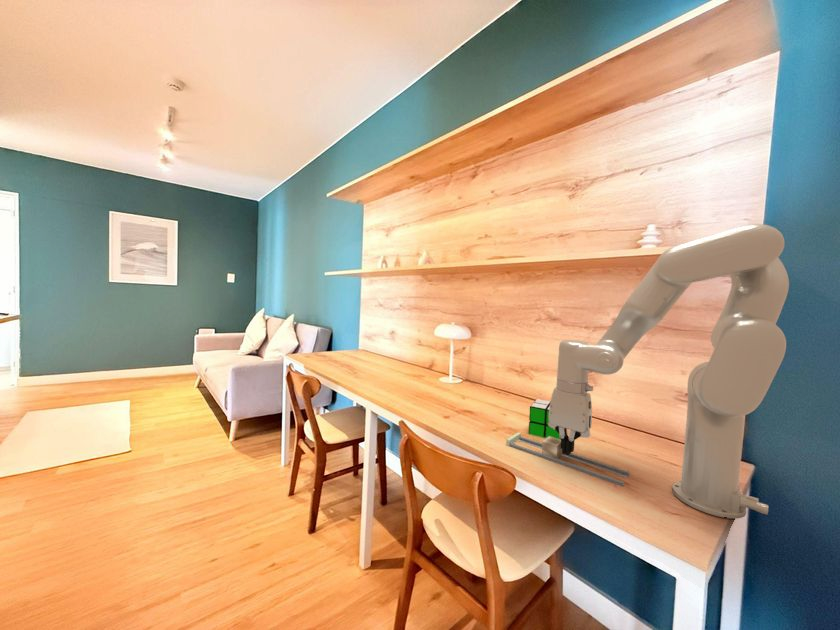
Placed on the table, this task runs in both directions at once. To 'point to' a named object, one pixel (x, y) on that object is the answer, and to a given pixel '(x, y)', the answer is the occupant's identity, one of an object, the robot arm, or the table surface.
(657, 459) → the table surface
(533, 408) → the puzzle cube
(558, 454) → the cream block
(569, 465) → the twin rail slider track
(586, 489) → the table surface
